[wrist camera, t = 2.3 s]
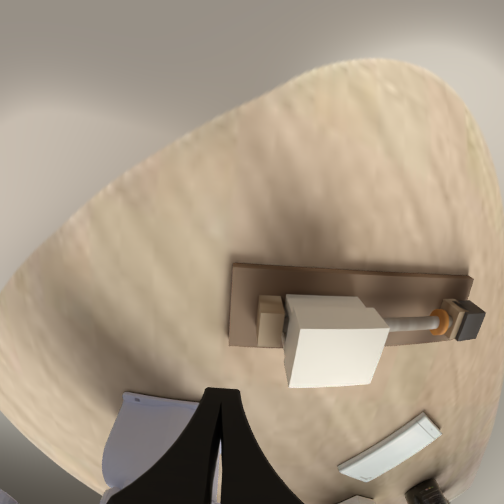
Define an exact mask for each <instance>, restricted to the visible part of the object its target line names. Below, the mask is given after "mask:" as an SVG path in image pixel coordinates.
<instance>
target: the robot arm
mask: <svg viewBox="0 0 504 504" xmlns="http://www.w3.org/2000/svg"><path fill="white" fill-rule="evenodd" d="M122 397H123V400H124V402H123V404H122V406H121V409H120V411H119V413H118V416H117V418H116V420H115V423H114V425H113V428H112V430H111V432H110V435H109V437H108V440H107V442H106V445H105V448H104V452H103V459H102V472H103V477H104V480H105V482H106V484H107V485H108V486H109V487H111V488H110V489H107V490H106V491H105V492H104V494H103V496H102V498H101V501H100V504H304V503H303V502H302V501H301V500H300V499H299V498H298V497H297V496H296V495H295V494H294V493H293V492H292V491H291V490H290V489H289V488H288V486H287V485H286V484H285V483H284V482H283V480H282V479H281V478H280V477H279V476H278V474H277V473H276V472H275V470H274V469H273V467H272V466H271V465H270V463H269V462H268V460H267V458H266V457H265V455H264V454H263V452H262V450H261V448H260V447H259V445H258V443H257V441H256V439H255V437H254V435H253V433H252V430H251V428H250V425H249V423H248V421H247V418H246V415H245V412H244V409H243V405H242V401H241V395H240V391H239V390H238V389H224V388H211V387H207V388H206V389H205V391H204V394H203V396H202V399H201V401H200V403H198V402H189V401H180V400H173V399H166V398H159V397H153V396H147V395H141V394H136V393H131V392H124V393H123V395H122ZM137 398H138V399H137ZM220 454H221V456H222V485H221V502H220V503H217V487H218V471H219V456H220ZM0 504H18V503H17V501H16V500H15V499H13V498H12V497H11V496H10V495H8V494H7V493H6V492H4V491H3V490H1V489H0Z"/></svg>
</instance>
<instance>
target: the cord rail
mask: <svg viewBox="0 0 504 504" xmlns="http://www.w3.org/2000/svg"><path fill="white" fill-rule="evenodd" d="M473 280H474V279H473V278H471V277H470V276H464V275H440V274H418V273H398V272H378V271H359V270H341V269H324V268H307V267H290V266H274V265H259V264H243V263H233V272H232V290H231V308H230V328H229V346H240V347H259V348H283V343H282V338H281V337H282V332H287V331H288V324H289V317H285V312H284V306H285V299H286V294H294V295H318V296H350V297H358V298H359V299H360V300H361V301H362V303H363V304H364V305H365V307H366V308H374V309H375V310H376V311H377V312H378V314H379V315H380V316H381V317H382V319H383V320H384V321H385V322H386V324H387V325H388V326H389V327H390V330H389V333H388V336H387V339H386V342H385V345H384V346H397V345H410V344H420V343H430V342H439V341H447V340H453V339H456V340H457V341H463V340H470V339H476V337H477V334H478V332H479V329H480V327H481V324H482V322H483V319H484V317H485V314H486V312H484V311H483V310H482V309H480V308H479V307H478V306H476V305H475V304H474V303H473V302H471V301H470V300H468V297H469V293H470V290H471V287H472V284H473Z"/></svg>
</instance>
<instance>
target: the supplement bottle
mask: <svg viewBox="0 0 504 504" xmlns="http://www.w3.org/2000/svg"><path fill="white" fill-rule="evenodd" d="M405 498H406V501H407V503H408V504H447V502H446V500H445V497H444V495H443V493H442V491H441V489H440V487H439V485H438V483H437V481H436V480H435V479H429V480H426V481H424V482H422V483H420V484H418V485H416V486H415V487H413V488H412V489H410V490H409V491H408V492H407V493H406V495H405Z"/></svg>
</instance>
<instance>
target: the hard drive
mask: <svg viewBox="0 0 504 504" xmlns="http://www.w3.org/2000/svg"><path fill="white" fill-rule="evenodd" d="M440 435H442V433H441V431H440V429H439V428H438V427H437V426H436V425H435V424H434V423H433V422H432V421H431V420H430V419H429V418H428V416H427V415H426V414H425V413H424V412H422V413H421V414H419V415H418V416H417V417H415V418H414V419H413V420H411V421H410V422H409V423H407V424H406V425H404V426H403V427H402V428H400V429H399V430H397V431H396V432H394V433H393V434H391V435H390V436H388V437H387V438H385V439H384V440H382V441H380V442H379V443H377V444H376V445H374V446H372V447H371V448H369V449H367V450H366V451H364V452H362V453H361V454H359V455H357V456H355V457H354V458H352V459H350V460H348V461H346V462H344V463H343V464H341V465H339V466H337V467H338V470H339V472H340V473H342V474H345V475H347V476H350V477H353V478H355V479H358V480H361V481H364V482H369V481H371V480H372V479H374V478H376V477H378V476H380V475H381V474H383V473H385V472H387V471H388V470H390V469H392V468H393V467H395V466H397V465H398V464H400V463H402V462H403V461H405V460H406V459H408V458H409V457H411V456H412V455H414V454H415V453H417V452H418V451H420V450H421V449H423V448H424V447H426V446H427V445H428V444H430V443H431V442H432V441H434V440H435V439H436V438H438V437H439V436H440Z"/></svg>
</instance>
